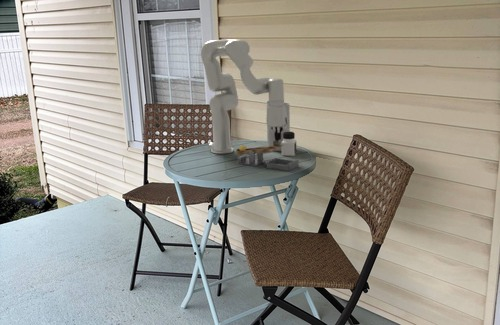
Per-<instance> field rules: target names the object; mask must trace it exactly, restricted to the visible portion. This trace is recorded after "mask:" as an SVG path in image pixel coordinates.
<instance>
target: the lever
mask: <svg viewBox="0 0 500 325" xmlns="http://www.w3.org/2000/svg"><path fill="white" fill-rule="evenodd" d="M273 145H274V146H269V147H267V146H260V147H250V148H247V147H246V150H244V151H240V150H239V148H237V149H236V151H235V154H236V156H243V155H245V156H247V155H249V151H255V155H257V154H259V153H263V154H270V153H273V152H276V151H275V150H276V149H277V148H280V147H282V146H283V145H279V140H273Z"/></svg>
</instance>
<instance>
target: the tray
mask: <svg viewBox="0 0 500 325" xmlns="http://www.w3.org/2000/svg"><path fill="white" fill-rule="evenodd" d="M299 161H300V160H299V159H295V160H292V159H291V160H290V159H285V158H283V159H282V158H277V157H275V158H273V159H271V160H268V161H267V162H266V169H270V170H271V169H272V170H278V171H284V172H291V171H293V170H294V169H296V168H299V166H300V165H299V164H300V162H299Z"/></svg>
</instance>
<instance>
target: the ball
mask: <svg viewBox="0 0 500 325" xmlns="http://www.w3.org/2000/svg"><path fill="white" fill-rule="evenodd" d="M238 149H239V150H240V151H244V150H246V149H247V147H246V145H242V144H241V145H240V146H239V148H238Z"/></svg>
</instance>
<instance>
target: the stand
mask: <svg viewBox="0 0 500 325" xmlns="http://www.w3.org/2000/svg"><path fill="white" fill-rule="evenodd" d="M264 163H266V160H264V153H259V154H255V151H249V154H248V157H247V155H239V156H238V157H237V161H235V164H237V165H238V164H239V165H244V166H246V165H247V166H250V167H257V166H260V165H261V164H264Z"/></svg>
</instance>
